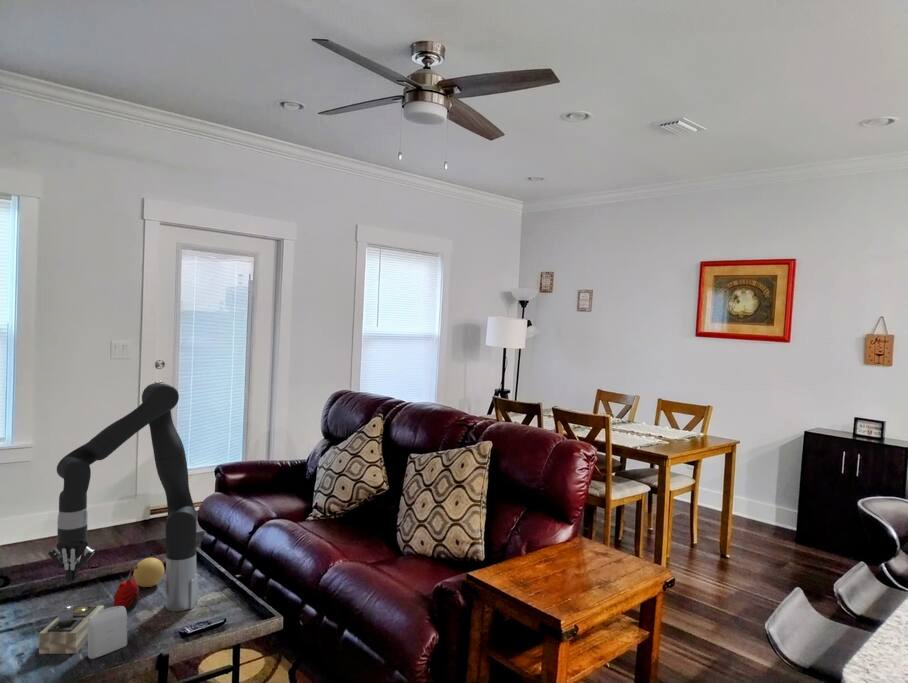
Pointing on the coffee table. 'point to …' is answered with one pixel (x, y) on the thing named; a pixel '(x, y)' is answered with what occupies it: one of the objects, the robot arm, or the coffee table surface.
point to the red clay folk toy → (127, 593)
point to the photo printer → (107, 631)
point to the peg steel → (65, 616)
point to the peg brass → (80, 610)
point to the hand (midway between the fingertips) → (71, 580)
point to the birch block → (67, 633)
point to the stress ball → (148, 572)
